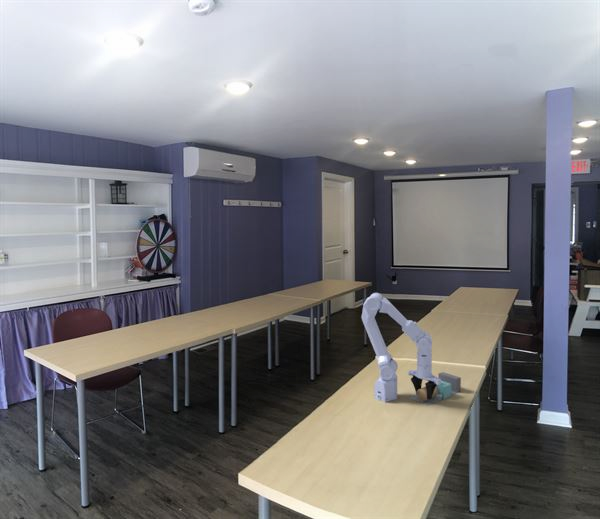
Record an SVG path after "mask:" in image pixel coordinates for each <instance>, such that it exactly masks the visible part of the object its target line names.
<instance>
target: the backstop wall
mask: <svg viewBox="0 0 600 519" xmlns="http://www.w3.org/2000/svg"><path fill="white" fill-rule="evenodd" d="M437 378H439V379H441V381H444V382H447V383H450V384H451V391H453V392H456V394H458V393H460V392H461V388H462V387H461V386H462V383H461V382H462V377H460V376H456V375H454V374H450V373H447V372H444V371H442V372H439V373H438V377H437Z"/></svg>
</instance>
